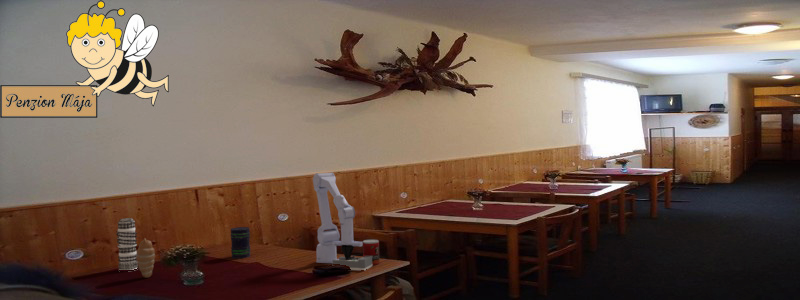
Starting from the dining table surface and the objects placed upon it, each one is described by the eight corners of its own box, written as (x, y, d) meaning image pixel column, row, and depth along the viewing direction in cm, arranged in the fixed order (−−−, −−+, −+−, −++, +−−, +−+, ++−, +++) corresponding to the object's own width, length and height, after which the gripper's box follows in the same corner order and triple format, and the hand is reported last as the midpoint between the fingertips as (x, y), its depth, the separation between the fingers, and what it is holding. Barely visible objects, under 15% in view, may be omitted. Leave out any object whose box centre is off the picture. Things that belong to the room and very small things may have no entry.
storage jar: (230, 256, 317) (229, 228, 317) (248, 254, 321) (247, 226, 321) (233, 259, 308) (232, 230, 308) (252, 257, 312) (251, 228, 312)
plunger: (347, 266, 277) (346, 258, 276) (352, 263, 283) (352, 255, 283) (356, 266, 275) (355, 258, 275) (361, 263, 281) (361, 256, 281)
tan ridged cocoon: (138, 276, 275) (136, 237, 274) (156, 274, 277) (154, 236, 277) (136, 280, 266) (135, 240, 266) (155, 278, 269) (154, 239, 269)
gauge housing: (331, 269, 278) (330, 258, 278) (339, 264, 288) (339, 254, 287) (364, 270, 273) (364, 259, 273) (372, 265, 282) (372, 255, 282)
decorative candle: (113, 271, 288) (111, 219, 288) (130, 267, 297) (128, 217, 296) (126, 272, 284) (124, 220, 284) (142, 268, 292) (140, 217, 292)
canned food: (372, 265, 282) (372, 242, 282) (360, 264, 287) (359, 241, 287) (382, 262, 288) (382, 240, 288) (370, 261, 293) (369, 239, 293)
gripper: (329, 233, 279) (330, 262, 279) (358, 234, 274) (359, 263, 275) (335, 231, 286) (336, 259, 286) (363, 231, 281) (364, 260, 281)
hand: (348, 261), depth 281 cm, fingers closed
